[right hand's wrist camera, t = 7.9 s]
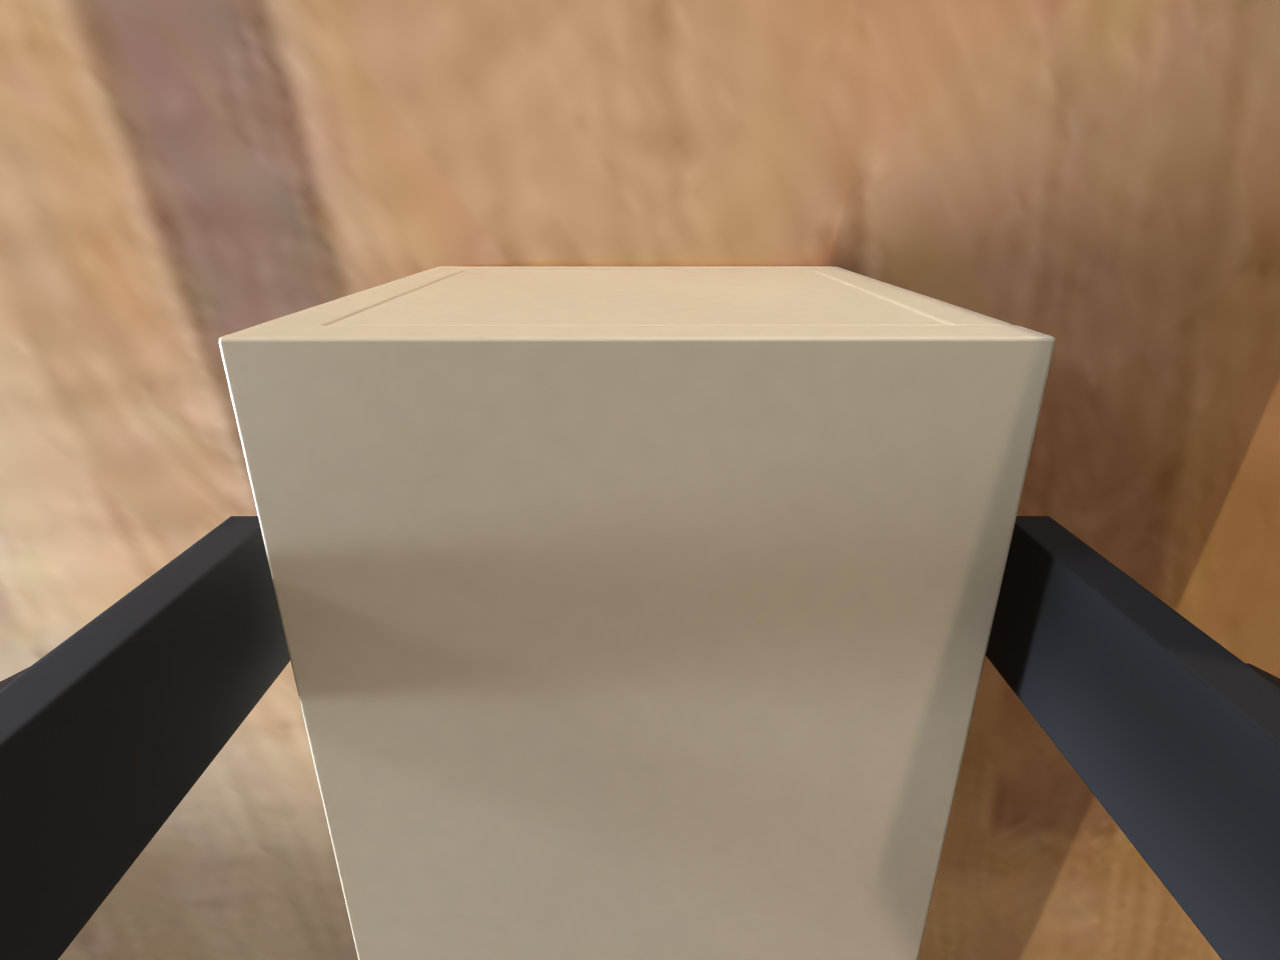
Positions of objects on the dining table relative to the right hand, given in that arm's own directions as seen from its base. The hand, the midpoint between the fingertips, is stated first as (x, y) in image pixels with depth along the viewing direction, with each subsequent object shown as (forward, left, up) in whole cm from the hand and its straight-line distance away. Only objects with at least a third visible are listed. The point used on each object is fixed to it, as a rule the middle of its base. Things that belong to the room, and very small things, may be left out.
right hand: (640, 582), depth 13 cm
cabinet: (+1, -5, -10) cm, 11 cm away
